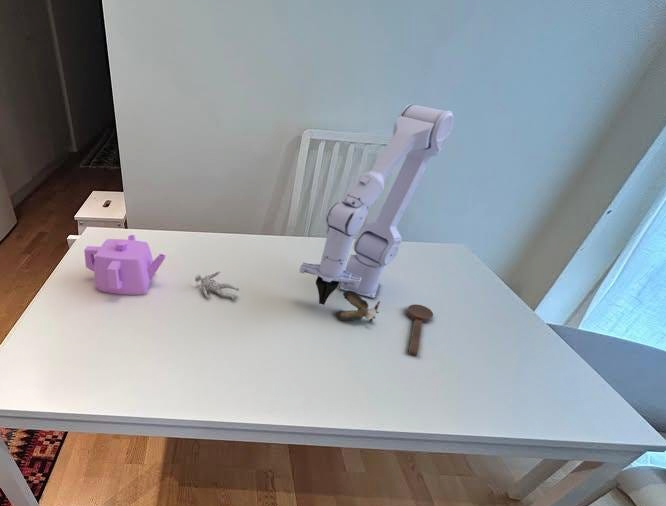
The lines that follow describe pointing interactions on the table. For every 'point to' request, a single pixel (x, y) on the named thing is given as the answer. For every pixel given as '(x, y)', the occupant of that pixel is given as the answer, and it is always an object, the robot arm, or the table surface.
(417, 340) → the round wooden paddle
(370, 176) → the robot arm
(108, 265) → the teakettle
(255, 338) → the table surface
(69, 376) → the table surface
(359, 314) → the eagle figurine
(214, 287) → the soldier figure
